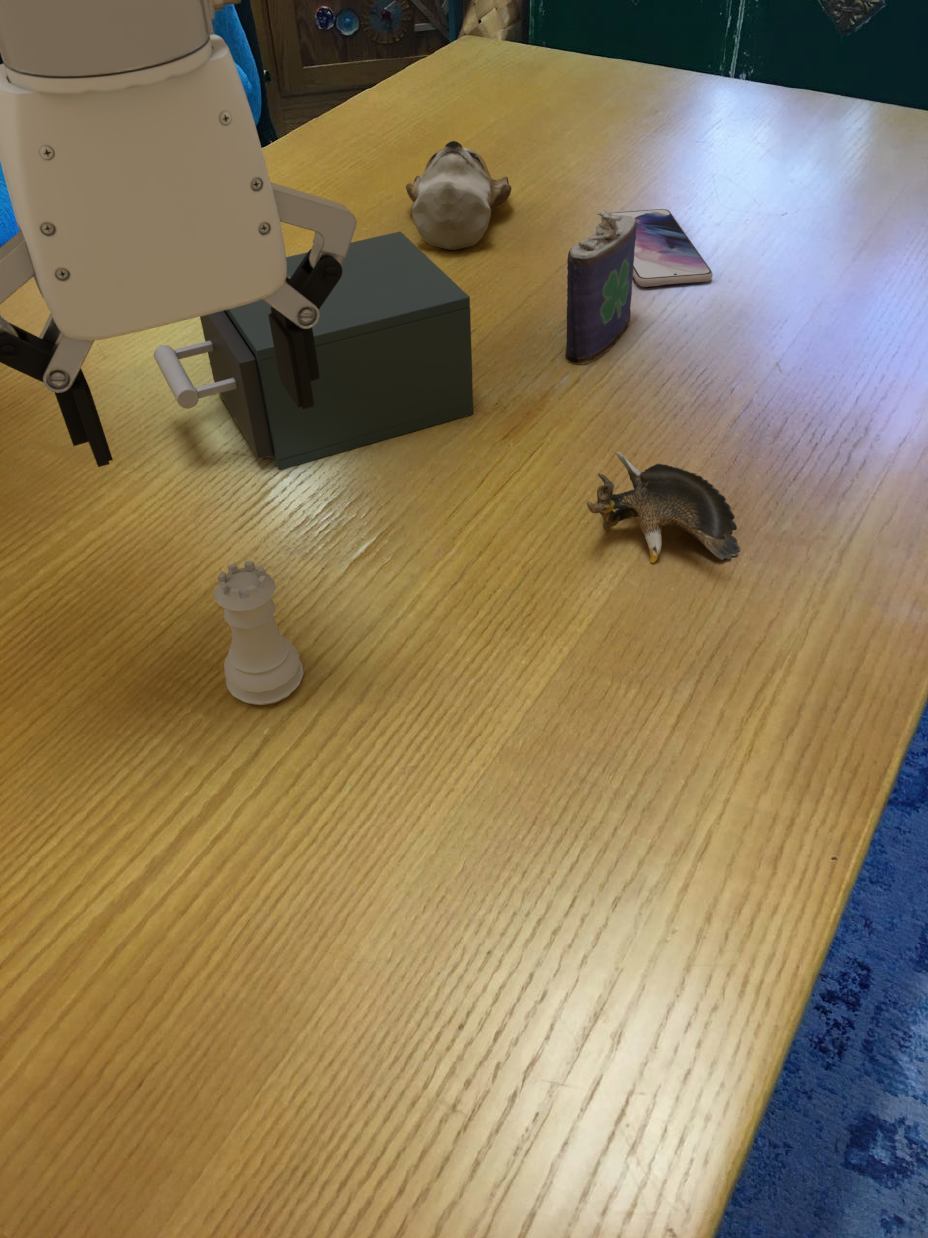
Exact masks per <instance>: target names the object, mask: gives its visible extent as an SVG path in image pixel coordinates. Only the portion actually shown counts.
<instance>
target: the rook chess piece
mask: <svg viewBox="0 0 928 1238" xmlns="http://www.w3.org/2000/svg"><path fill="white" fill-rule="evenodd" d="M255 565H256V564H255V562H254V561H251V560H244V567H240V568H239V567H238V564H237V562H233V563H231V564H228V565H227V570H228V573H227V572H225V571H223V570H221V571H220V572H219V574H218V576H217V579H218V583H217V585H216V587H215V589H214V590H213V591H214V592H213V594H214V595H213V596H214V600H215V601H216V603H217V604H218V606H220V607H221V608H223V609H224V610H223V619H224V620H225V621H226V623H227V624H228V625H229V627H230V631H231V645H230V648H229V649H228V651H227V652H228V654H227V655H226V658H225V660H224V665H223V666H224V668H223V669H224V677H225V682H226V689H227V690H228V691H229V692H230V694H231V696H232V697H234V698H236V699H238V700H239V701H242V702H244V703H246V704H248V705H252V706H253V705H255V706H268V705H273V704H276V703H279V702H281V701H282V700H285V699H286V698H289V696H290V695H291V694H292V693H293V692H294V691H295V690H296V689H297V688H298V687H299V686H300V685H301V682H302V679H303V676H304V668H303V662H302V661H301V658H300V652H299V651H298V649H297V648H296V647H295V646H294V644H293V643H292V642H291V640H289V639H288V638H286V636H285V635H284V634H283V633H281V631H280V628H279V626H278V624H277V622H276V619H275V614H276V610H277V609H276V608H277V607H276V603H275V601H274V600H273V599H272V598H273V597H274V594H275V592H276V591H277V588H276V581H275V580H274V579H273V578H272V576H271V575H270V574H268V573H267V572H266V569H265V568H264V567H263V565H261V564H259V565H258V566H257V567H256V566H255Z"/></svg>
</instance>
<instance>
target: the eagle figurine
mask: <svg viewBox="0 0 928 1238" xmlns="http://www.w3.org/2000/svg"><path fill="white" fill-rule="evenodd" d="M615 454H616V456H617V458H618V459H619V461H620V463H622V465H623V466H624V467H625V469H626V470H627V474H628V476H629V479H630V481H631V484H632V487H633V489H630V490H628V491H624V492H621V493H614V488H615V484H614V482H613V481H611V480H610V479H609V478H608V477H607V476H606V475H605V474H603V473H600V472H599V473H597V476H598V477H599V478H600V480H601V481H602V482H603V484H601V485H599V486H598V487H597V490H596V496H597V497H596V498H597V500H596V501H597V502H596V503H593V502H591V501H587V502H586V506H587V508H588V510H589V512H590V513H591V514H600V515H601V517H602V519H603V521H602V528H603V529H604V530H606V529H608V530H611V528H613V527H614V526H616V525H618V524H619V522H622V521H624V520H626V519H627V520H628V519H634V518H637V520H638V523H639V527H640V530H641V533H642V534H643V536H644V539H645V540H646V543H647V547H648V550H649V555H650V559H649V563H650V564H655V563H656V562H657V560H658V558H659V555H660V553H661V550H662V543H663V541H662V540H663V539H662V527H664V526H674V527H678V528H680V529H682V530H683V531H684V532H687V533H688V534H689V535H691V536H692V537H694V538H695V539H697V540H698V541H699V542H700V543H701V544H702V545H703V546H704V547H705V548H706V549H707V550H709V552H710V553H711V554H712V555H713V556H714V557H716V558H717V559H718V560H720V561H723V560H725V559H727V560H731V559H732V557H737V556H739V553H738V552H740V550H741V549H740V546H739V545H738V539H737V538H736V537H735V536H734V535H733V533H734V532H733V531H737V530H738V526H737V524H736V522H735V521H734V520H735V518H736V515H735V513H734V512H733V511H732V507H731V505H730V504H729V503H728V502H727V498H726V497H725V495H723V494H721V493H720V490H719V489H717V488H716V487H715V486H714V484H712V483H710V481H709V480H708V479H704V477H703V476H702V475H698V474H697V473H695V472H690V471H688V470H685V469H683V468H680V467H675V466H672V465H668V464H664V463H663V464H662V463H655V464H654V465H651V466H649V467H648V468H646V469H644V471H640V470H638V469H637V468H636V467H635V466H634V465H633V464H632V463H631V462H630V461H629V460H628V459H627V458H626V457H625V456H624V455H623V454H622V453H621V452H619V451H616V453H615ZM614 510H615V511H614Z"/></svg>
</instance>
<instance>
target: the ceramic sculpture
mask: <svg viewBox="0 0 928 1238" xmlns="http://www.w3.org/2000/svg"><path fill="white" fill-rule="evenodd" d="M509 182H510V181H509V177H508V176H504V177H502V178H498V179H493V178H492V176H491V173H490V171H489V169H488V166H487V163H486V161H485V159H484V158H483V157H482V156H481V155H480V154H479V153H478V152H477V151H476V150H474V149H471V148H467V147H463V145H462V144H461V143H460V142H459V141H456V140H451V141H449V142H447V143H446V144H445V146H444V147H443V148H441V149H439V150H437V151H436V152H435V153H434V154H433V155H431V156H430V158H428V160H427V163H426V165H425V168H424V171H423V173H422V174H421V176H419V175H416V176H415V178H414V180H413V183H411V182H409V183H406V185H405V189H406V192H407V195H408V197H409V199H410V200H411V201H412V203H413V205H412V207H411V215H412V216H411V217H412V220H413V223H414V226H415V228H416V230H417V232H418V234H419V235H420V236H421V238H422V239H423V240H424V242H426V244H428V245H430V246H432V247H438V248H441V249H443V248H444V249H443V250H447V249H448V251H457V250H461V249H464V248H468V247H473V246H475V245H476V244H477V243H478V242H480V240H481V239H482V238H483V236H484V234H485V233H486V231H487V229H488V227H489V223H490V220H491V216H492V211H494V210H496V209H497V208H500V207H501V206H503V205H504V204H505V203H506V202H507V200H508V199H509V197H510V195H511V192H512V185H510V183H509ZM456 249H457V250H456Z"/></svg>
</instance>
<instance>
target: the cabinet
mask: <svg viewBox="0 0 928 1238" xmlns="http://www.w3.org/2000/svg"><path fill="white" fill-rule="evenodd" d="M308 252H309V251H308ZM308 252H302V253H299V254H294V255H289V256H286V261H287V276H288V277H290V278H291V277H292V275H293V274H294V272H295V271H296V269H297V268H298V266H299V265H300V263H301V262H302V260H303V259H304V257H305V256H306V254H307V253H308ZM341 266H342V276H341V278H340V280H339V281H338V283H337V284H336V286H335V287H334V289H333V290H332V291H331V293H330V294H329V296H328V297H327V299H326V300H325V302H324V303H323V305H322V306H321V307H320V309H319V312H320V318H319V321H318V322H317V324H316V325H315V326H314V327H312V329H313V336H314V342H315V349H316V355H317V362H318V368H319V379H317V380H314V381H311V388H312V394H313V400H314V407H311V408H307V409H302V407H300V408H298V407H297V405H296V404H295V402H294V401H293V399H292V398H291V396H290V395H289V394H288V392H287V391H286V389H285V388H284V386H283V385H282V383H281V380H280V377H279V371H278V366H277V360H276V355H275V349H274V344H273V338H272V333H271V328H270V322H269V316H268V314H270V313H271V308H270V307H272V306H271V305H269V304H268V303H267V302H265V301H264V300H263V299H261V300H259V301H256V302H253V303H250V304H247V305H243V306H239V307H235V308H232V309H228V310H224V312H225V313H226V315H227V316H228V318H229V319H230V321H231V322H232V324H233V325H234V327H235V328H236V330H237V331H238V330H239V332H240V333H241V335H242V336H243V338H244V339H245V341H246V342H247V344H248V345H249V347H250V348H251V350H252V351H253V353H254V354H255V356H256V362H257V367H258V373H259V378H260V383H261V389H262V394H263V399H264V405H265V410H266V416H267V421H268V426H269V432H270V437H271V442H272V448H273V453H274V455H273V456H270V458H271V460H272V461H273V463H274V464H275V466H276V468H277V469H278V470H279V471H280V470H284V469H287V468H291V467H294V466H298V465H301V464H305V463H308V462H311V461H316V460H318V459H322V458H325V457H329V456H333V455H337V454H339V453H342V452H346V451H350V450H354V449H356V448H361V447H364V446H367V445H370V444H374V443H377V442H381V441H384V440H388V439H392V438H395V437H398V436H402V435H406V434H408V433H412V432H416V431H419V430H423V429H426V428H429V427H433V426H436V425H440V424H443V423H446V422H450V421H455V420H457V419H458V420H459V419H461V418H464V417H468V416H471V415H474V390H473V389H474V388H473V387H474V386H473V384H474V383H473V355H472V354H473V353H472V326H471V325H472V323H471V319H472V318H471V307H470V306H471V298H470V296H469V295H468V294H467V293H466V292H465V291H464V290H463V289H462V288H461V287H460V286H459V285H458V284H457V283H455V281H454V280H452V279H451V278H450V277H449V276H448V275H447V274H446V273H445V271H443V270H442V269H441V268H440V267H439V266H438V265H436V264H435V263H434V261H432V260H431V259H430V258H429V257H428V256H427V255H426V254H425V253H424V252H423V251H422V250H421V249H420V248H418V246H416V244H415V243H414V242H412V241H411V240H410V239H409V238H408V237H407V236H406V234H404V233H403V232H402V231H395V232H391V233H387V234H382V235H377V236H373V237H369V238H365V239H364V238H363V239H360V240H356V241H355V240H354V241H351V243H350V246H349V249H348V252H347V255H346V258H344V259H343V262H342V265H341ZM239 332H238V333H239Z"/></svg>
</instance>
